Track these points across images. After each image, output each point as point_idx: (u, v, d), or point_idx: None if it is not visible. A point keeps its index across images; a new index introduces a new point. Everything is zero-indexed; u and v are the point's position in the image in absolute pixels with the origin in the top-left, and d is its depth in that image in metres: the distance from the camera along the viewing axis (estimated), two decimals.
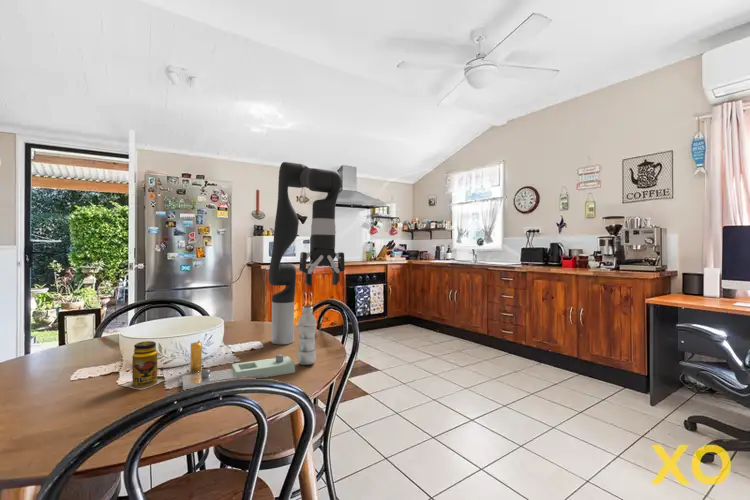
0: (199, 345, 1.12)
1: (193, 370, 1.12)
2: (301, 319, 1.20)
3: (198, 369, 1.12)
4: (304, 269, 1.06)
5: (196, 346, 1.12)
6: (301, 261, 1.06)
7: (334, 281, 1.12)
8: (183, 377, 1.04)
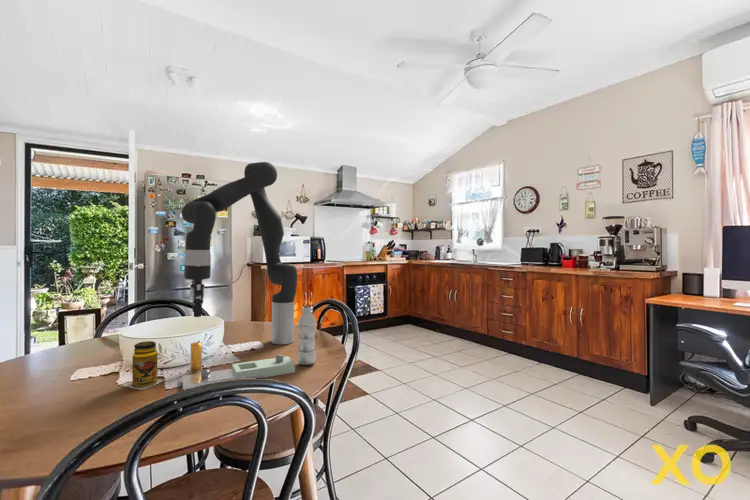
0: (199, 345, 1.12)
1: (193, 370, 1.12)
2: (301, 319, 1.20)
3: (198, 369, 1.12)
4: None
5: (196, 346, 1.12)
6: (199, 293, 1.07)
7: None
8: (183, 377, 1.04)
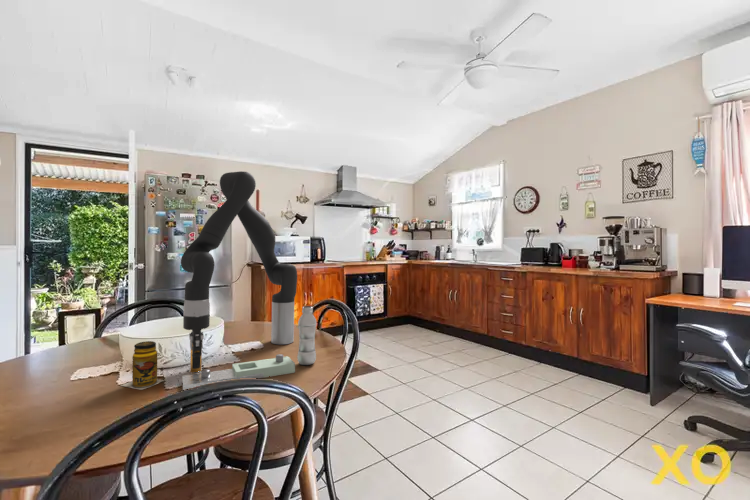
0: None
1: (193, 370, 1.12)
2: (301, 319, 1.20)
3: (198, 369, 1.12)
4: (201, 353, 1.10)
5: None
6: (198, 349, 1.08)
7: None
8: (183, 377, 1.04)
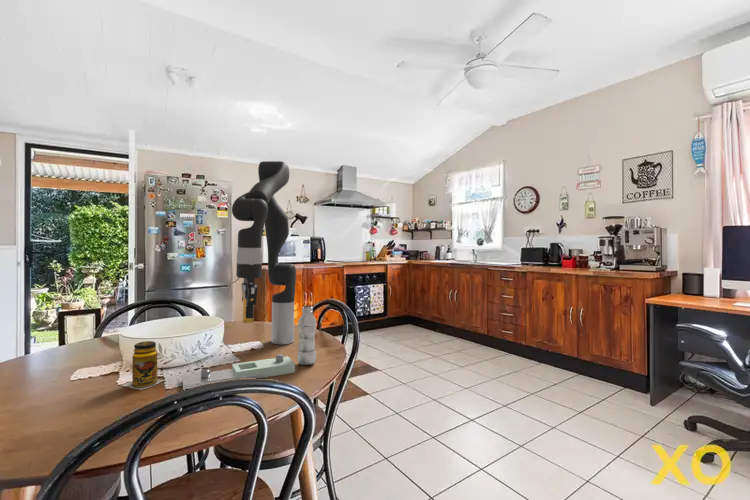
0: None
1: (246, 320, 1.09)
2: (301, 319, 1.20)
3: (251, 319, 1.10)
4: None
5: None
6: (253, 297, 1.06)
7: None
8: (183, 377, 1.04)
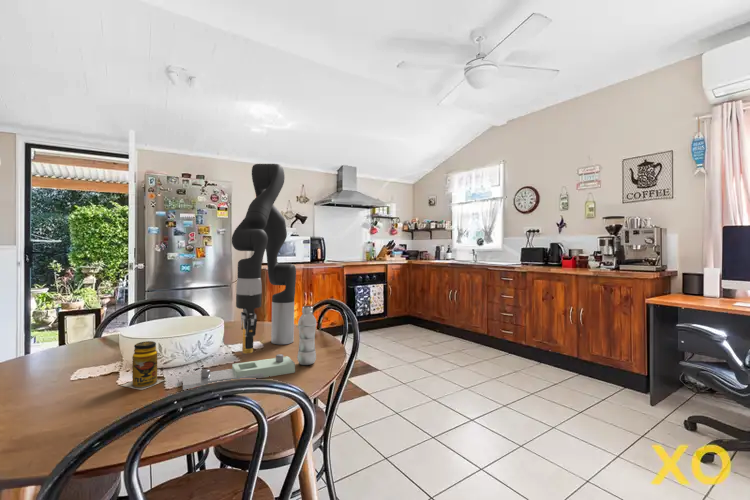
0: None
1: (246, 350, 1.09)
2: (301, 319, 1.20)
3: (250, 349, 1.10)
4: None
5: None
6: (252, 328, 1.06)
7: None
8: (183, 377, 1.04)
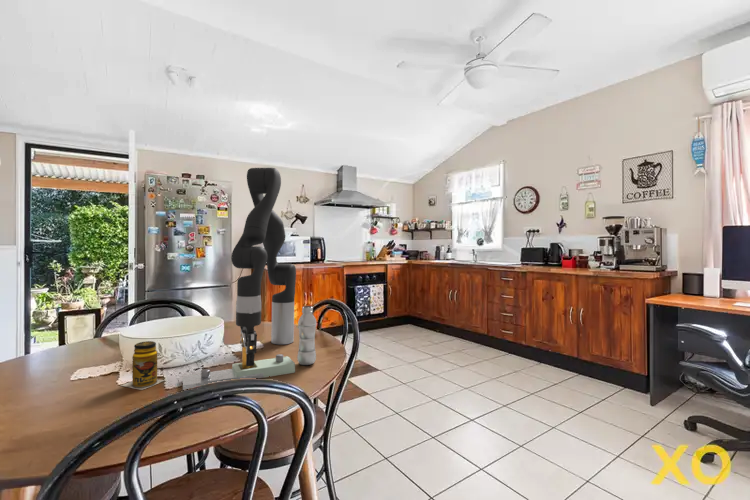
0: None
1: None
2: (301, 319, 1.20)
3: None
4: None
5: None
6: (253, 343, 1.05)
7: None
8: (183, 377, 1.04)
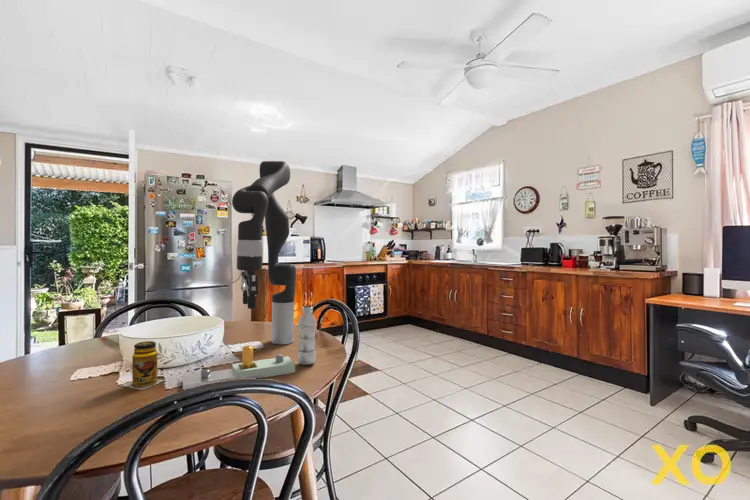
0: (251, 349, 1.10)
1: None
2: (301, 319, 1.20)
3: None
4: None
5: (248, 350, 1.09)
6: (254, 284, 1.04)
7: (248, 300, 1.14)
8: (183, 377, 1.04)
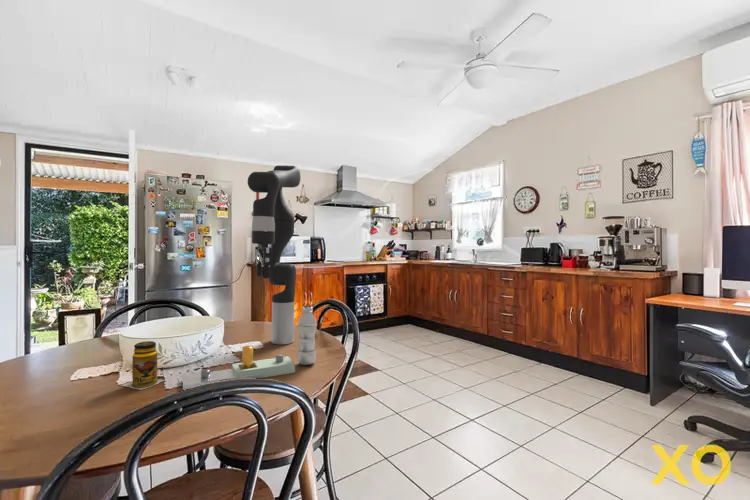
0: (251, 349, 1.10)
1: None
2: (301, 319, 1.20)
3: None
4: None
5: (248, 350, 1.09)
6: (268, 256, 1.15)
7: (261, 272, 1.25)
8: (183, 377, 1.04)
